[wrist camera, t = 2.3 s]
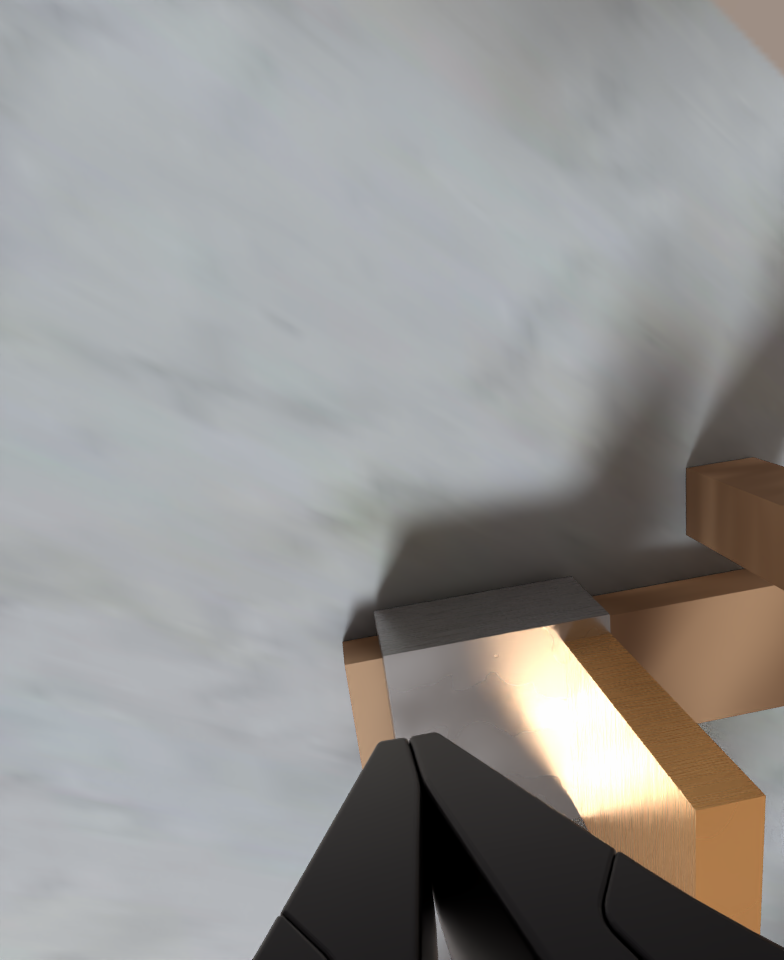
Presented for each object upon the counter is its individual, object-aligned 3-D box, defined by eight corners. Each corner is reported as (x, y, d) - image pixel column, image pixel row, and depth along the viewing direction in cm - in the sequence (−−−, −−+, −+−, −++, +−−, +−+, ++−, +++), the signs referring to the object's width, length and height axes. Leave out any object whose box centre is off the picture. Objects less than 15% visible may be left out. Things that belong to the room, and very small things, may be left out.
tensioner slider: (400, 788, 23) (460, 1106, 14) (373, 611, 21) (422, 842, 12) (580, 751, 23) (756, 1031, 14) (571, 576, 21) (766, 768, 12)
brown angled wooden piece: (362, 761, 23) (410, 1177, 12) (323, 528, 20) (336, 776, 9) (811, 671, 24) (1226, 963, 13) (825, 445, 22) (1349, 572, 11)
